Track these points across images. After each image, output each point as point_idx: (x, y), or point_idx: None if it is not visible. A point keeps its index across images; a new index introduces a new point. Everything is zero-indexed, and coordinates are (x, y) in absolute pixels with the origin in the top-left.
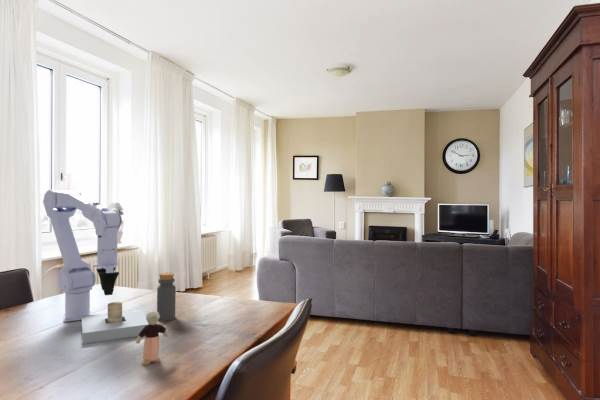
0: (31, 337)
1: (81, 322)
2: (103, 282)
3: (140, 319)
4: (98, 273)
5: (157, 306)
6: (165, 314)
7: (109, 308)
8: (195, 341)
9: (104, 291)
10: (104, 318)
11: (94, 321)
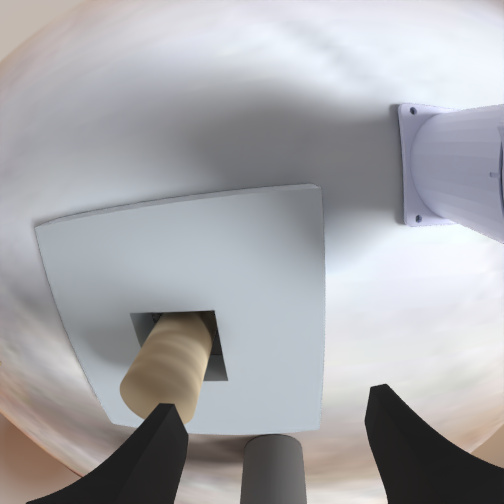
0: (203, 8)
1: (299, 186)
2: (89, 478)
3: None
4: (443, 501)
5: (267, 471)
6: (243, 462)
7: (131, 366)
8: (77, 439)
9: (144, 423)
10: (219, 308)
11: (177, 264)
